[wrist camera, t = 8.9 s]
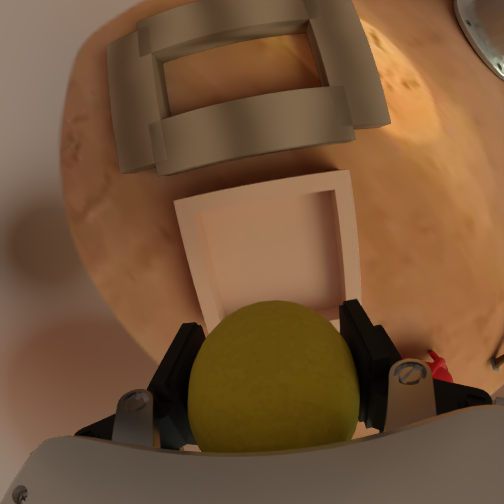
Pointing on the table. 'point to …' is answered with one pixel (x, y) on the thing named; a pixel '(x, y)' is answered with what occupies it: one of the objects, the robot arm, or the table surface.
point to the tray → (273, 244)
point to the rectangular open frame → (247, 109)
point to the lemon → (273, 382)
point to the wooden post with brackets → (497, 362)
